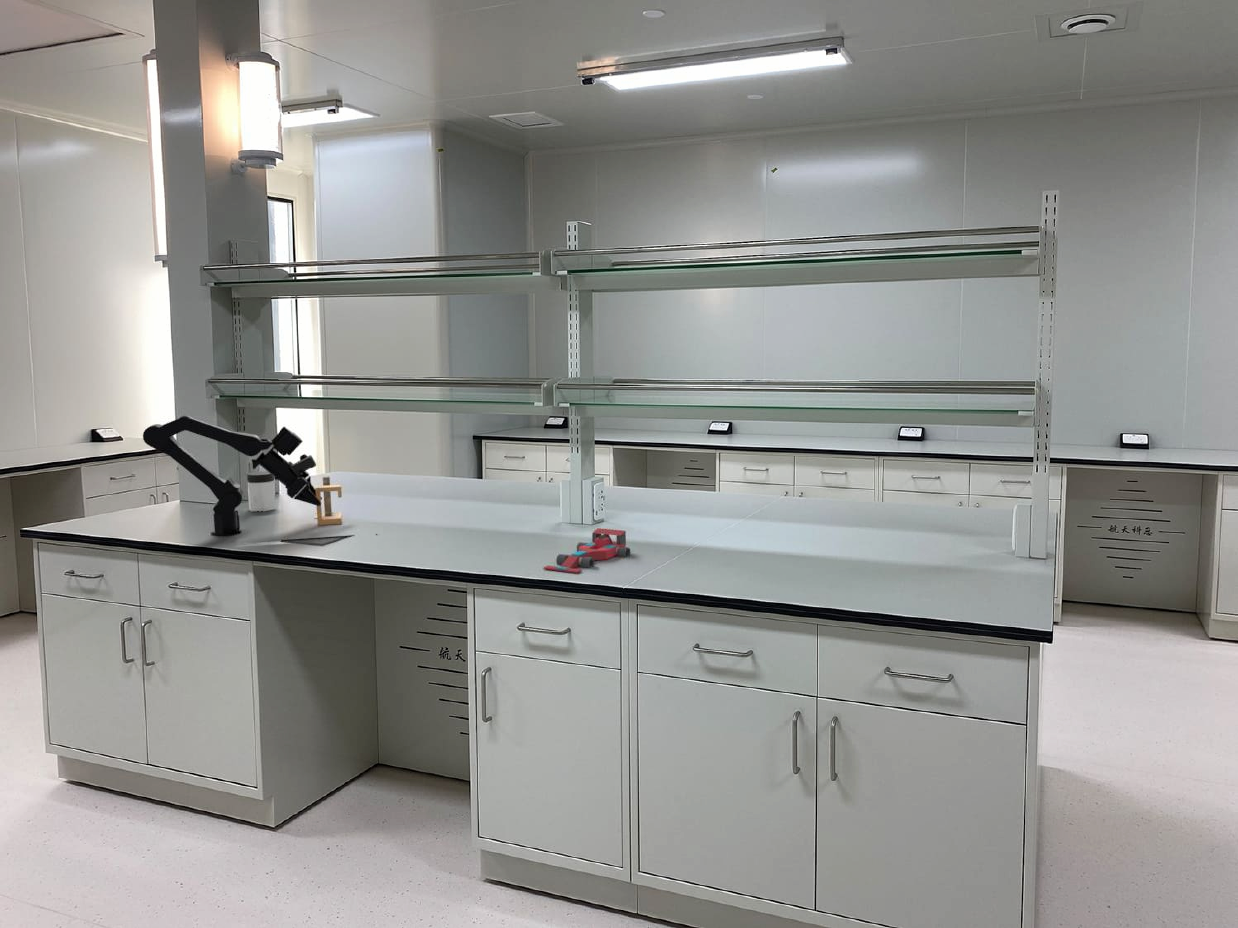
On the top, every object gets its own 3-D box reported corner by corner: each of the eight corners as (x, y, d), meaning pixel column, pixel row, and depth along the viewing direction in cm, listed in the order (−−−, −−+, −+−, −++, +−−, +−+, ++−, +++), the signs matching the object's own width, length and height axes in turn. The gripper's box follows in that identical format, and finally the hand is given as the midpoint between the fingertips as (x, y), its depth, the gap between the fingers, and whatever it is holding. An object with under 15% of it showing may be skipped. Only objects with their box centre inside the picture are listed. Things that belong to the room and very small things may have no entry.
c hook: (317, 525, 285) (315, 488, 284) (318, 522, 289) (315, 486, 287) (343, 523, 287) (341, 486, 285) (343, 520, 291) (341, 484, 289)
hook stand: (313, 529, 284) (310, 485, 282) (315, 517, 303) (312, 475, 301) (341, 527, 286) (339, 483, 284) (342, 515, 305) (339, 474, 303)
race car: (533, 546, 232) (587, 527, 254) (534, 570, 233) (588, 549, 255) (584, 551, 225) (635, 531, 247) (585, 577, 226) (636, 554, 248)
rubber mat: (322, 545, 262) (322, 543, 262) (281, 542, 267) (281, 540, 267) (355, 535, 275) (355, 533, 275) (315, 532, 280) (315, 530, 280)
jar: (243, 511, 314) (240, 475, 313) (255, 507, 323) (252, 471, 321) (270, 511, 314) (267, 475, 312) (281, 507, 322) (278, 471, 320)
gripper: (296, 450, 274) (339, 486, 278) (299, 443, 292) (339, 477, 296) (268, 479, 273) (312, 515, 277) (273, 471, 291) (314, 504, 295)
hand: (320, 502), depth 286 cm, fingers open, 9 cm apart
